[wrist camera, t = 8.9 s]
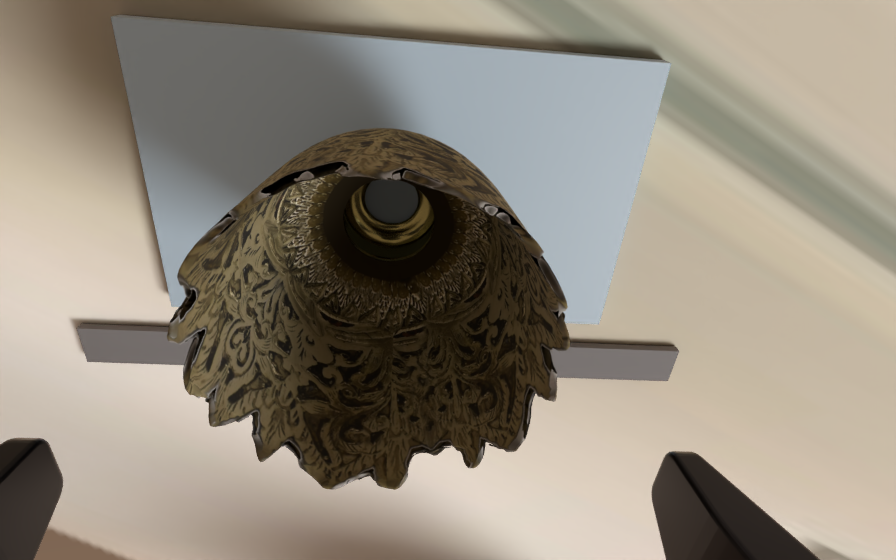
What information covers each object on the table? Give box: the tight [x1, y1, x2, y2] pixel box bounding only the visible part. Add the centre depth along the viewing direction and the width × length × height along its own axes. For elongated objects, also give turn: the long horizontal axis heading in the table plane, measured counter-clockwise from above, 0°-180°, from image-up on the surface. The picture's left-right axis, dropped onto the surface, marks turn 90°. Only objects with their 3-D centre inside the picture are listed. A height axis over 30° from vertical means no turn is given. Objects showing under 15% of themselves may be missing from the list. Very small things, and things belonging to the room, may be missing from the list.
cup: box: [167, 128, 570, 489], centre depth 14 cm, size 8×7×8 cm
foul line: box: [77, 324, 679, 381], centre depth 21 cm, size 2×22×1 cm, turn 85°
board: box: [111, 15, 671, 324], centre depth 17 cm, size 9×15×1 cm, turn 85°
